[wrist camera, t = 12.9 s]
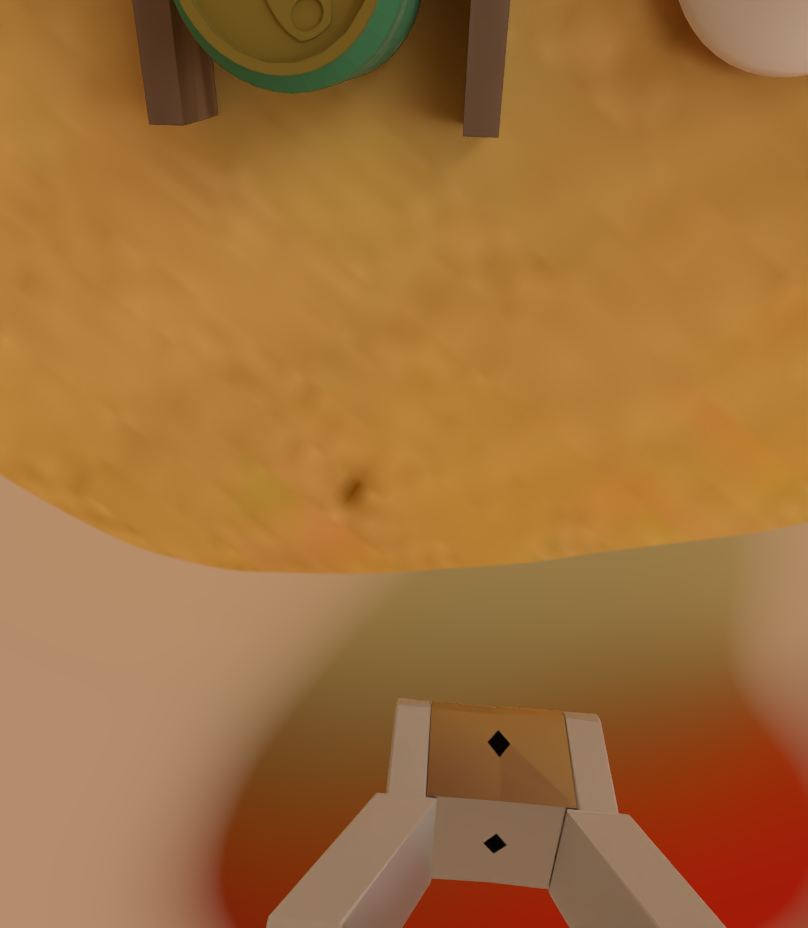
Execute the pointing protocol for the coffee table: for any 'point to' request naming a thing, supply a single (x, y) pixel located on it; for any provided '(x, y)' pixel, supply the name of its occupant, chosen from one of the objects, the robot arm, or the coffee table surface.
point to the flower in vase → (754, 33)
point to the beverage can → (298, 38)
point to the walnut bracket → (193, 85)
